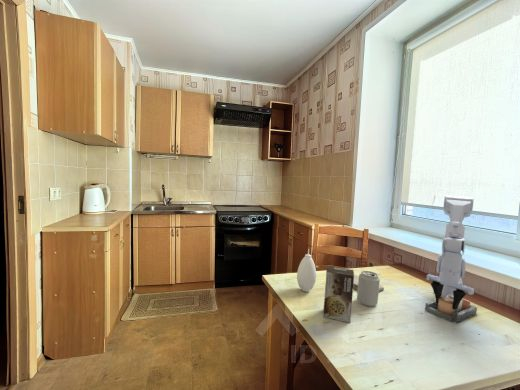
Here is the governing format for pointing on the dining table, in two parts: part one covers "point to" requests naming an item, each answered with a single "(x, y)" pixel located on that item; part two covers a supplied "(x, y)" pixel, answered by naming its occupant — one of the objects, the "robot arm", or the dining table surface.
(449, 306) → the terracotta jar
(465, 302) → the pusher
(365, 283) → the can
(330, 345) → the dining table surface
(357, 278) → the washcloth
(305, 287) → the sauce bottle
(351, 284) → the coffee box
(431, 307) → the grey tray
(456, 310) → the grey jar
